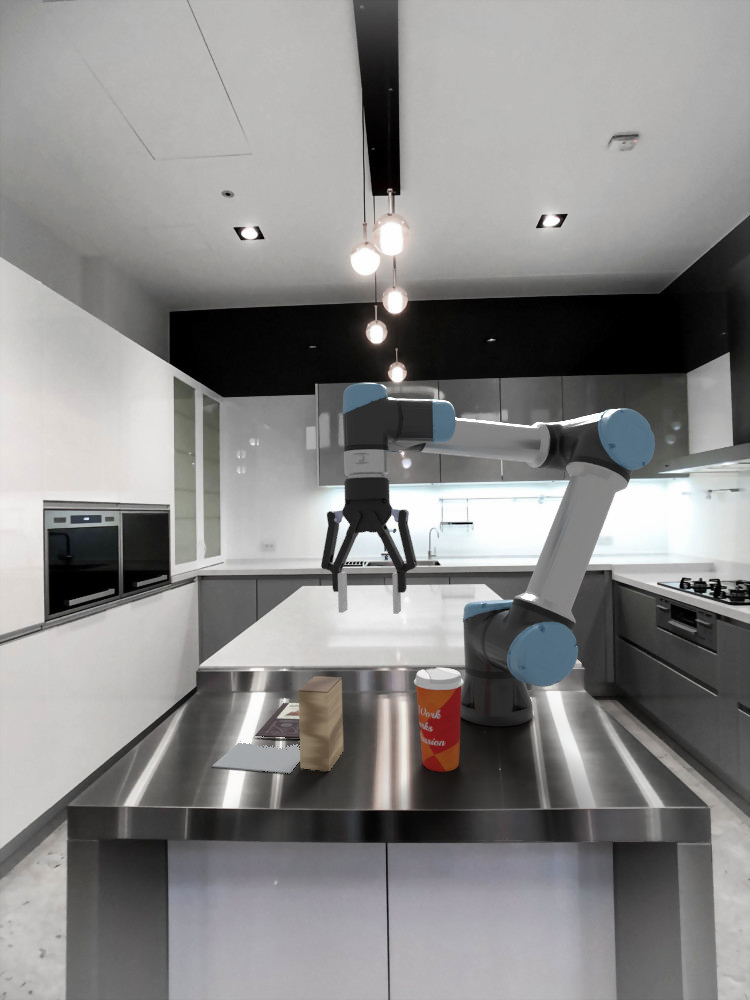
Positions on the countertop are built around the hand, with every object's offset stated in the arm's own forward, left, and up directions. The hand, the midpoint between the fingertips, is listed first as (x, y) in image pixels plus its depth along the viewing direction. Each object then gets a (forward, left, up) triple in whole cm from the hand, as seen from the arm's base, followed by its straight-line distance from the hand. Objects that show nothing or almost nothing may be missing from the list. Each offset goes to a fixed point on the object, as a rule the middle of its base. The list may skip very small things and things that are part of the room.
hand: (369, 611), depth 97 cm
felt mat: (+19, 0, -25) cm, 32 cm away
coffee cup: (-11, -2, -26) cm, 28 cm away
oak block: (+9, 0, -25) cm, 27 cm away
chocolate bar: (+21, -16, -26) cm, 37 cm away
